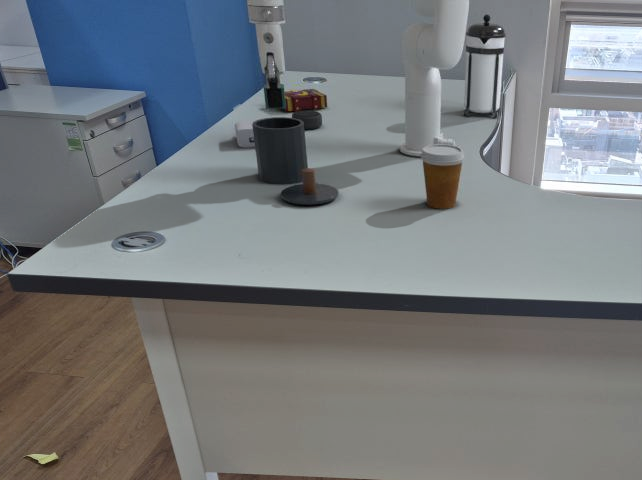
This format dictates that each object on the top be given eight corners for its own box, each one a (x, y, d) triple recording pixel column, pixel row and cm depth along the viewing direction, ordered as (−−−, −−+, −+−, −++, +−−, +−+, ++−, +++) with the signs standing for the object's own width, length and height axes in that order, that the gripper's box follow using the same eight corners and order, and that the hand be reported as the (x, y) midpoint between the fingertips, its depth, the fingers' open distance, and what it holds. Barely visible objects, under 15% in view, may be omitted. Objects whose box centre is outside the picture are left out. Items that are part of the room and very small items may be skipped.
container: (307, 168, 164) (303, 116, 157) (309, 183, 154) (304, 128, 148) (259, 170, 162) (253, 117, 155) (258, 184, 152) (251, 129, 145)
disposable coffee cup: (431, 214, 140) (432, 157, 134) (413, 200, 147) (413, 145, 140) (470, 208, 144) (473, 153, 137) (450, 194, 151) (452, 141, 144)
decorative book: (328, 108, 220) (327, 93, 217) (282, 113, 212) (281, 97, 210) (314, 102, 228) (313, 87, 225) (269, 106, 220) (268, 90, 217)
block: (285, 104, 151) (283, 84, 149) (285, 108, 148) (283, 87, 145) (266, 104, 151) (263, 84, 148) (265, 108, 147) (263, 87, 145)
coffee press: (514, 116, 221) (523, 16, 204) (476, 120, 213) (482, 17, 196) (484, 105, 232) (489, 10, 216) (447, 110, 225) (449, 11, 208)
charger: (268, 132, 192) (273, 146, 180) (235, 134, 189) (238, 147, 177) (266, 115, 189) (271, 128, 177) (233, 117, 187) (235, 129, 175)
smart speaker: (325, 124, 202) (324, 110, 200) (318, 131, 195) (317, 117, 193) (297, 122, 203) (296, 109, 201) (289, 129, 196) (287, 115, 193)
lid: (336, 187, 153) (335, 160, 149) (340, 206, 142) (339, 177, 139) (281, 189, 150) (278, 162, 147) (281, 208, 140) (278, 179, 136)
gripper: (284, 19, 133) (293, 113, 143) (284, 11, 147) (292, 97, 157) (246, 18, 131) (257, 113, 141) (250, 10, 145) (260, 97, 155)
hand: (275, 104), depth 149 cm, fingers closed on block, 4 cm apart
